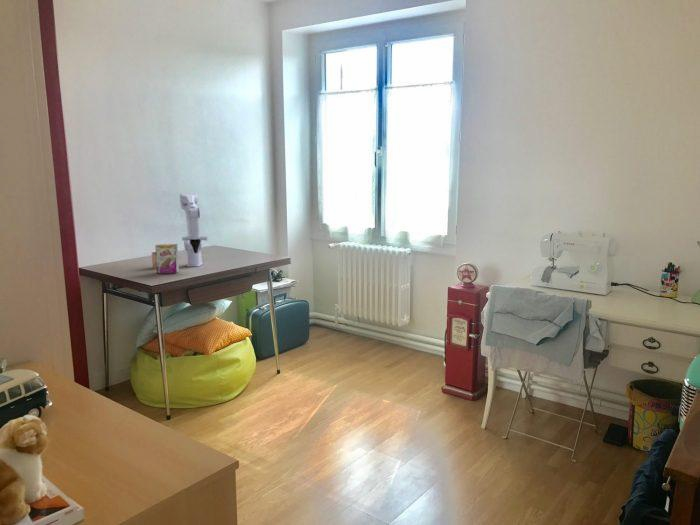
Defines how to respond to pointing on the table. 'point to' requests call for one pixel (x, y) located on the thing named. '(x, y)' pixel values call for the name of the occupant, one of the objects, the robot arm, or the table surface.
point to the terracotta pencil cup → (154, 260)
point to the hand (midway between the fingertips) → (195, 252)
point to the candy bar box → (167, 258)
